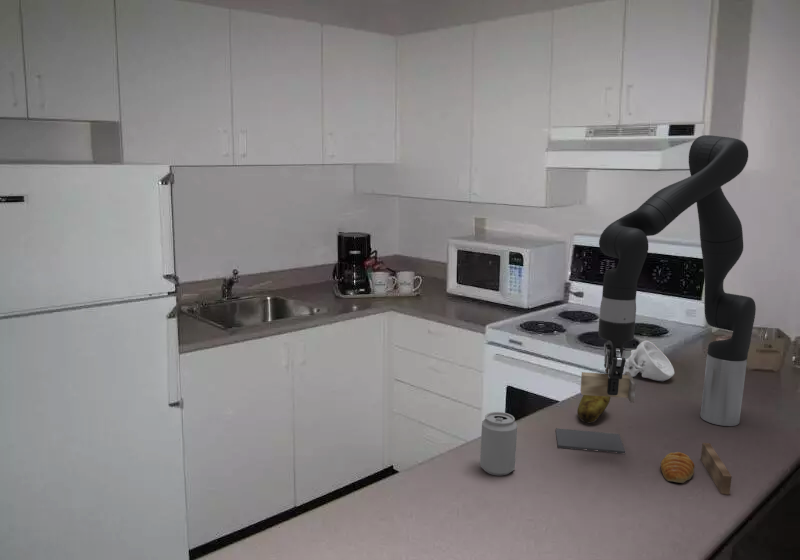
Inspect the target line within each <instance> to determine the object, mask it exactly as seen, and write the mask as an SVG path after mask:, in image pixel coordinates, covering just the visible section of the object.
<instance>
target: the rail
mask: <svg viewBox="0 0 800 560" xmlns="http://www.w3.org/2000/svg"><path fill="white" fill-rule="evenodd" d="M701 443H702V444H701V452H700V461H701V462H702V464H703V465H704V468H705V469H706V471H707V473H708V474H709V476H710V477H711V480H712V481H713V483H714V484H715V486H716V488H717V489H718V492H719V493H720V495H727V496H729V495H730V493H731V486H732V477H733V476H732V474H731V473H730V472H729V470H728V469H727V467H726V465H725V463H724V462H723V460H722V459H721V457H720V456H719V455H718V453H717V452H716V450H715V448H714V447H713V445H712V444H711V443H708V442H701Z"/></svg>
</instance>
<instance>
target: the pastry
mask: <svg viewBox="0 0 800 560" xmlns="http://www.w3.org/2000/svg"><path fill="white" fill-rule="evenodd" d="M695 466H696V465H695V463H694V462H693V459H691V458H690V456H689V455H687V454H686V453H683V452H681V451H680V452H679V451H676V452H669V453H668V454H666V455H665V456H664V458H663V459H662V460H661V462H660V469H661V474H662V475H663V478H664V479H665V480H666V481H668V482H674V483H679V484H684V483H685V482H687V481H689V480H691V479H692V477H693V476H694V473H695V472H694V471H695V468H696V467H695Z"/></svg>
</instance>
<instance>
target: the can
mask: <svg viewBox="0 0 800 560" xmlns="http://www.w3.org/2000/svg"><path fill="white" fill-rule="evenodd" d="M515 420H516V419H515V417H514V415H512V414H510V413H507V412H503V411H492V412H489V413H487V414H486V415H485V416H484V419H483V420H482V422H481V433H480V436H481V437H480V451H479V452H480V455H479V457H480V458H479V466H480V467H481V469H483V470H484V472H486V473H487V474H490V475H492V476H507V475H509V474H510V473H511V472H513V471H514V470H515V469H516V454H517V437H518V436H517V435H518V423H517V422H516V421H515Z"/></svg>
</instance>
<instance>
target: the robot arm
mask: <svg viewBox="0 0 800 560" xmlns="http://www.w3.org/2000/svg"><path fill="white" fill-rule="evenodd" d="M748 160H749V149H748V146H747V144H746V143H745V142H744V141H743V140H741V139H738V138H734V137H729V136H720V135H708V134H707V135H705V134H704V135H700V136H698V137H696V138H695V139H694V141H693V142H692V143H691V145H690V148H689V152H688V167H689V168H688V169H689V174H690V176H688V177H687V178H684V179H681V180H680V181H679V180H678V181H677V182H674V183H672V184H670V185H667V186H665V187H663V188H662V189H660V190H658V191H657V192H655V193H653V194H652V195H650V197H649V198H648V199H647V200H645V201H644V202H643V203H642V204H640V206H638V208H637V209H635V210H633V211H631V212H629V213H627V214H626V215H624V216H622V217H620V218H618V219H617V220H615V221H613V222H611V223H610V224H609V225H607V226H606V228H605V229H604V230H603V231H602V233H601V234H600V237H599V239H598V246H599V249H600V251H601V252H602V254H604V255H605V256H608V257H610V258H614V259H618V263H617V265H616V268H613V269H608V270H607V271H606V272H605V273H604V274H603V275H604V276H603V282H602V283H603V284H602V292H601V294H602V295H601V301H600V305H599V306H600V307H599V317H598V319H599V320H598V330H597V331H598V332H597V333H598V334H597V335H598V337H599V338H600V339H602V340H605V342H604V343H603V349H604V350H603V351H604V357H603V358H604V359H603V361H604V364H603V366H604V369H605V370H604V372H605V374H608V388H607V393H608V395H617V394H618V386H619V379H622V375H624V373H623V370H624V368H625V362H626V358H625V357H626V348H625V347H624V343H627V342H631V341H633V340H634V337H635V329H636V328H635V326H636V315H637V289H638V281H639V278H640V276H641V272H642V269H643V267H644V264H645V261H646V259H647V255H648V252H649V239H648V236H649V237H650V236H656V235H657V234H659V233H661V232H662V231H664V229H665V228H667V227H668V226H669V225H670V224H671V223H672V222H673V221H674V220H676V219H677V218H678V217H679V216H681V214H682V213H684V212H685V211H686V210H687V209H689V208H690V207H691V206H693V205H695V204H696V208H697V209H696V210H697V216H698V225H699V238H700V239H699V240H700V248H701V255H702V263H703V276H704V300H703V301H704V302H703V303H704V317H705V320H706V323H707V324H708V325H709V326H710V327H713V328H716V329H719V330H724V331H725V330H726V331H729V332H732V335H731V338H726V339H720V340H718V339H717V340H714V341H711V342H710V343H709V344H708V345H707V354H706V355H707V356H706V361H705V362H706V364H705V373H704V380H703V381H704V382H703V388H702V389H703V391H702V398H701V407H700V414H699V415H700V418H701V419H702V420H703V421H705V422H706V423H710V424H713V425H717V426H721V427H722V426H724V427H734V426H738V425H739V424H740V419H741V411H742V403H743V395H744V390H745V389H744V388H745V379H746V372H747V361H748V355H749V351H750V346H751V342H752V336H753V335H752V334H753V329H754V325H755V319H756V311H757V310H756V309H757V307H756V301H755V299H753V298H752V297H750V296H746V295H740V294H734V293H729V292H726V291H725V290H724V281H725V280H726V277H727V275H728V274H729V273H730V272H731V270H732V269H733V268H734V266H735V265H736V264H737V262H738V261H739V260H740V258H741V256H742V254H743V251H744V234H743V225H742V222H741V220H740V218H739V216H738V214H737V212H736V211H735V209H734V208H733V206H732V205H731V203H730V202H729V200H728V199H727V197H726V195H725V194H724V191H723V189H722V186H725V185H727V183H729V182H731V181H732V180H734V179H735V178H736V177H738V175H740V174H741V173H742V172H743V170H744V169H745V168H746V166H747V163H748Z"/></svg>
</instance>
